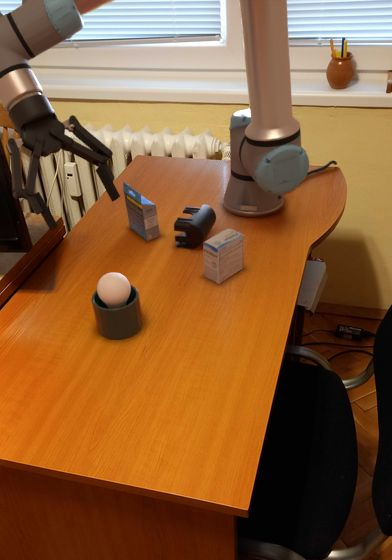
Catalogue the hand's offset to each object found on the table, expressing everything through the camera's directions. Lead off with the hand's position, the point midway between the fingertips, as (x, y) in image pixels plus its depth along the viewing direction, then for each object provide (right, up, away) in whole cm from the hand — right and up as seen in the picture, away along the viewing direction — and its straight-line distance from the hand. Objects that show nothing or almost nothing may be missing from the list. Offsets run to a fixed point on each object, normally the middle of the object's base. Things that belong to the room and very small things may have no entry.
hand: (86, 213), depth 102 cm
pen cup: (+6, -20, +5) cm, 22 cm away
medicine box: (+26, -9, +17) cm, 33 cm away
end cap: (+20, +1, +29) cm, 35 cm away
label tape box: (+8, +3, +32) cm, 33 cm away
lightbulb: (+6, -20, +5) cm, 21 cm away
